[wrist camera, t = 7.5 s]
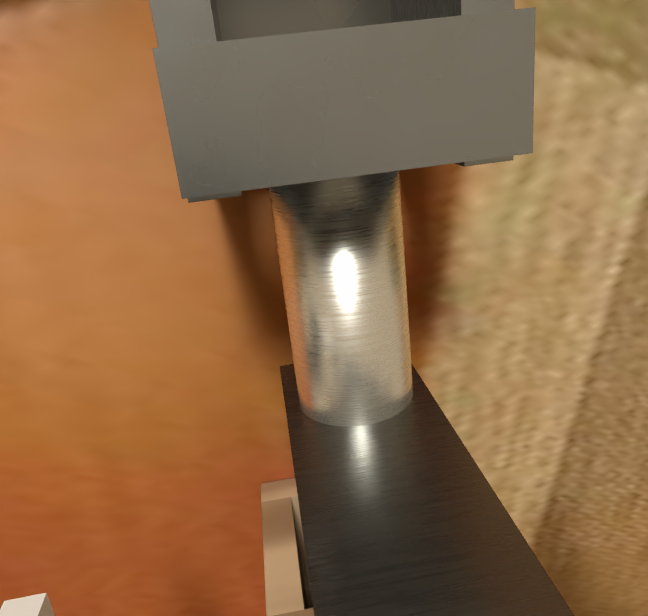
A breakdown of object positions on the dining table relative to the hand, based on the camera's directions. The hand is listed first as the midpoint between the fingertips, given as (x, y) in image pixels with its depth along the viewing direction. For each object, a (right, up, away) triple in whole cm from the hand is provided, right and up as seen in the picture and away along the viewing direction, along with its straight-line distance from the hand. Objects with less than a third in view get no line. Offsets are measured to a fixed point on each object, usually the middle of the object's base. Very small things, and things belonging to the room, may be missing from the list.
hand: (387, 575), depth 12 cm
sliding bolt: (-1, +4, +7) cm, 8 cm away
